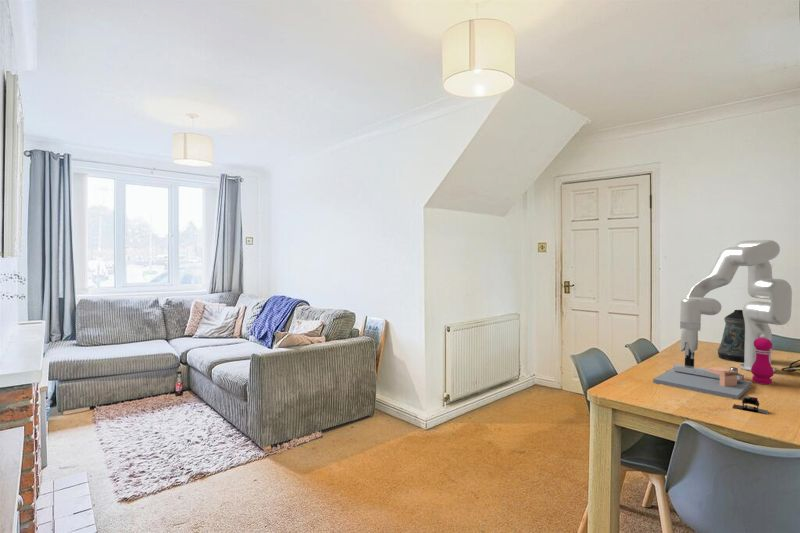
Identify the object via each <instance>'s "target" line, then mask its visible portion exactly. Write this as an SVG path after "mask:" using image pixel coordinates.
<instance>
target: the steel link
mask: <svg viewBox="0 0 800 533" xmlns="http://www.w3.org/2000/svg"><path fill="white" fill-rule="evenodd" d="M672 368H673V371H678V372H684V373H690V374H695V375H701V376H707V377H712V378H718V379H720V375H718V374H715V373H711V372H708V368H705V367H698V366H694V367H693V366H687V365H685V364H680V363H674V364H673V366H672ZM729 370H732V371H736V372H737V382H740V383H742V382H743V381H744V380H745V375H744V374H741V373H738V372H739V371H738V370H739V369H738V367H734V366H730V368H729Z"/></svg>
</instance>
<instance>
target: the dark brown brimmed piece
mask: <svg viewBox="0 0 800 533" xmlns="http://www.w3.org/2000/svg"><path fill="white" fill-rule="evenodd" d="M741 403H742V404H741V405H740V404H735V403H734V404H733V405H732V408H731V409H734V410H741V411H746V412H751V413H755V414H761V415H767V416H769V411H768V410H767V409H762V408H759V406H760V401H759V400H758V397H755V396H754V397H753V396H748V395H743V398H742V401H741ZM750 405H753V406H750Z"/></svg>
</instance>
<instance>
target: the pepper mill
mask: <svg viewBox="0 0 800 533" xmlns="http://www.w3.org/2000/svg"><path fill="white" fill-rule="evenodd" d="M760 337H761V338H758V339H756V340H755V341H754V346H755V348H756V349H755V353H756V360H755V362H754V364H753V365H752V368H751V371H750V372H751V374H752V375H753V376H752V377H751V380H752V381H751V382H752V383H756V384H757V383H758V384H762V385H771V384H772V383H773V379H772V377H773V376H774V374H775V372H773V368H774V367H772V363H771V364H770V362H769V354H771V355H772V348H773V342H772V340H771V341H770V340H768V339H766V336H765V335H764V334H762V335H761V336H760ZM770 349H771V351H770ZM770 352H771V353H770Z"/></svg>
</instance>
